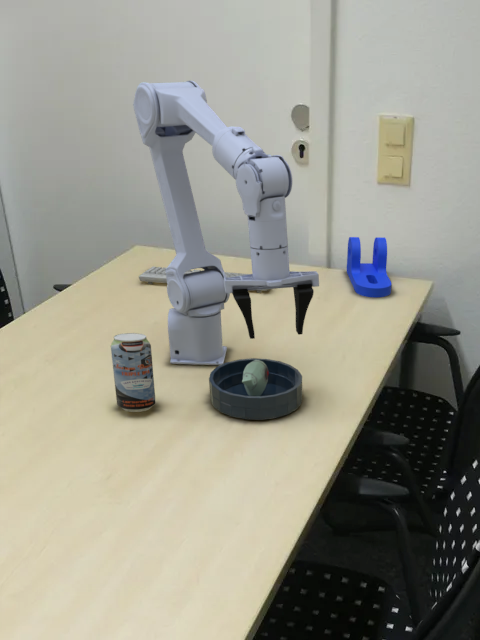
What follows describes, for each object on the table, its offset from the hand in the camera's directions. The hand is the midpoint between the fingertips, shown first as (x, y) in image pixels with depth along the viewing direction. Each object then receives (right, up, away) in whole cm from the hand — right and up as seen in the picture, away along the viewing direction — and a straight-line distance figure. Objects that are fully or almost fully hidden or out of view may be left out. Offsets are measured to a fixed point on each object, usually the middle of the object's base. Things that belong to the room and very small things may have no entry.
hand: (275, 334), depth 124 cm
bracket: (+16, +27, +58) cm, 66 cm away
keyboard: (-21, +26, +53) cm, 63 cm away
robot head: (-4, -9, +6) cm, 12 cm away
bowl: (-4, -9, +7) cm, 12 cm away
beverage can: (-23, -11, +2) cm, 26 cm away
